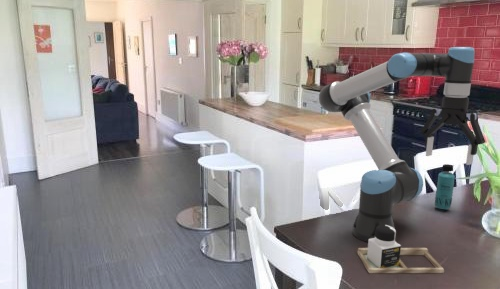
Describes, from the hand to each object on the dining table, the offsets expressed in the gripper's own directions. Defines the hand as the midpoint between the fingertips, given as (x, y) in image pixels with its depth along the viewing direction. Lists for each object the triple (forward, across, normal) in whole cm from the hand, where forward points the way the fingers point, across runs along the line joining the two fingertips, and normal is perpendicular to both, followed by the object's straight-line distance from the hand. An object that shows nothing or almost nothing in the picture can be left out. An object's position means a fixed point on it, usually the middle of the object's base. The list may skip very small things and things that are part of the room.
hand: (448, 159), depth 133 cm
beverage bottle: (+31, +15, -32) cm, 47 cm away
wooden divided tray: (+31, +1, +23) cm, 38 cm away
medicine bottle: (+31, +4, +27) cm, 41 cm away
